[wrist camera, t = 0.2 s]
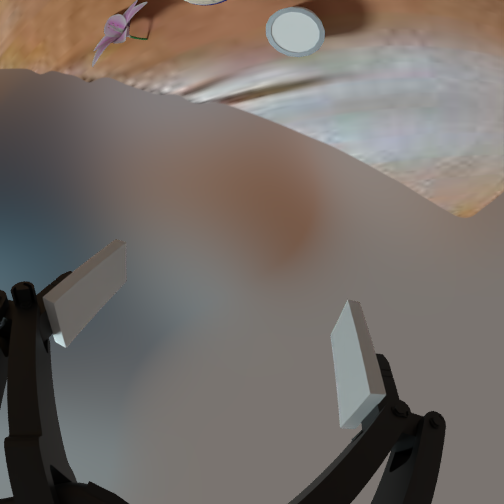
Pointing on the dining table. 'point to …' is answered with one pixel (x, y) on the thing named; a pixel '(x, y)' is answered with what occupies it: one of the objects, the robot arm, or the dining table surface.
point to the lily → (117, 29)
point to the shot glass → (295, 31)
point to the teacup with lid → (205, 2)
